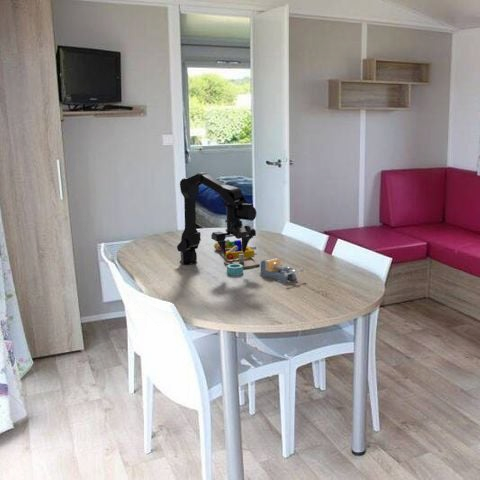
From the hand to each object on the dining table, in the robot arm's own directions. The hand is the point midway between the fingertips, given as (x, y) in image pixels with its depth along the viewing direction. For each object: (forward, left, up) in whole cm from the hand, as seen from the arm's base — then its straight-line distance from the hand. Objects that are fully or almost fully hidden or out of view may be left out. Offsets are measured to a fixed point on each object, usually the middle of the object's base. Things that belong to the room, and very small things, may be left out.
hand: (234, 253), depth 230 cm
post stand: (+8, +9, -9) cm, 15 cm away
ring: (0, 0, -9) cm, 9 cm away
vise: (+13, -16, -9) cm, 23 cm away
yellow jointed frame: (+15, +25, -8) cm, 30 cm away
